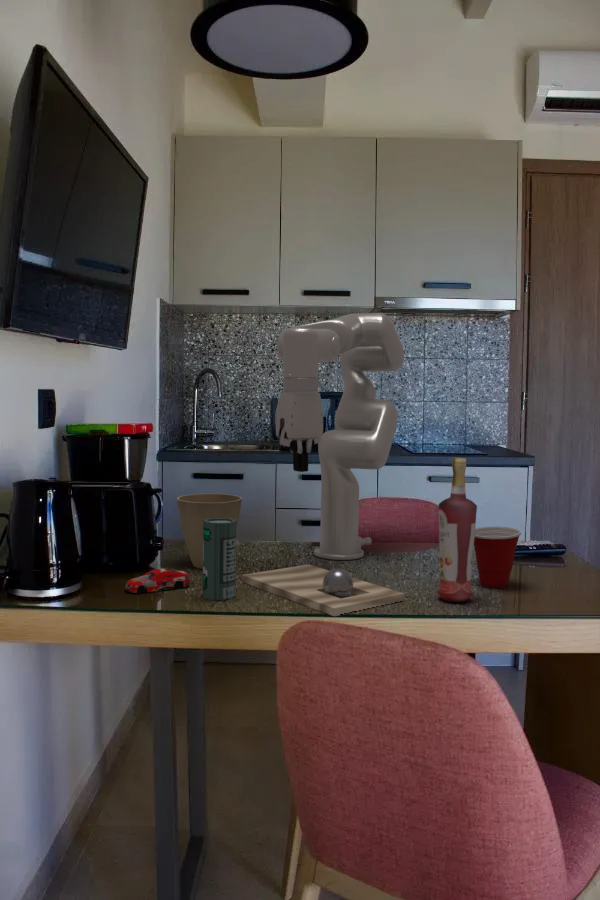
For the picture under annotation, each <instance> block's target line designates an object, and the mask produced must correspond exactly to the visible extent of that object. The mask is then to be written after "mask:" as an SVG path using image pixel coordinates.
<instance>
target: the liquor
mask: <svg viewBox="0 0 600 900" xmlns="http://www.w3.org/2000/svg"><path fill="white" fill-rule="evenodd" d="M451 459H452V461H451V467H452V468H451V469H452V480H451V487H450V488H451V489H450V495H449V497H448V498H445V499H442V501H441V502H439V503H438V541H439V542H438V543H439V588H438V590H437V591H436V593H437V594H438V596H440V598H441V599H442V600H444V601H445V602H447V601H448V602H449V603H452V602H456V603H455V604H460V603H459V602H462V603H465V602H467V601H469V599H470V598H471V597H473V592H472V589H471V588H472V572H473V571H472V570H473V569H472V568H473V557H474V555H473V554H474V548H475V547H474V537H475V528H476V523H477V509H478V505H477V504H476V503H475V502H474V501H473V500H471V499H468V498H467V494H466V493H467V491H466V470H467V469H466V468H467V458H465V457H452V458H451ZM457 602H458V603H457Z"/></svg>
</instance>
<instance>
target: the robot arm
mask: <svg viewBox="0 0 600 900" xmlns="http://www.w3.org/2000/svg"><path fill="white" fill-rule="evenodd" d="M404 352H405V351H404V346H403V343H402V341H401V339H400V336H399V333H398V331H397V329H396V327H395V325H394V323H393V321H392V320H391V318H390V317H389V316H388V315H386V314H385V313H383V312H364V313H348V314H345V315H341V316H339V317H336V318H333V319H327V320H322V321H317V322H313V323H307V324H302V325H297V326H292V327H289V328H286V329H284V330H283V331H281V333H280V334H279V336H278V338H277V341H276V353H277V354H278V357H279V358H280V360H281V361H282V366H283V367H282V376H283V377H282V381H283V382H282V384H283V385H282V391H283V392H281V393H279V395H278V396H279V397H278V400H277V402H278V403H277V407H276V418H275V419H276V420H275V435H276V437H277V438H278V439H279V445H280V446H284V447H288V449H290V452H291V453H292V467H293V469H292V470H293V471H295V472H297V473H298V472H299V473H304V472H308V471H309V454H310V453H311V452H312V448H313V447H314V446H315V445H316V444H317V447H318V449H317V451H318V452H317V453H318V456H319V457H318V459H319V465H320V475H321V477H320V478H321V481H320V482H321V489H320V528H319V531H320V533H319V536H320V537H319V547H318V546H317V547H316V548H314V550H313V555H314V556H316V557H318V558H320V559H326V560H332V561H333V560H337V561H347V560H348V561H349V560H351V561H352V560H357V559H361V558H363V557H364V555H365V551H364V550H363V549H362V547H363V546H368V545H369V546H371V545H372V542H373V541H372V538H371V537H369V536H368V537H367V536H366V537H362V536H359V515H360V514H359V512H360V511H359V510H360V508H359V507H360V485H359V482H358V479H357V478H356V476H355V474H354V473H353V471H352V469H355V470H356V469H357V470H380V469H381V468H383V467H384V466H385V465H386V463H387V460H388V457H389V455H390V451H391V448H392V443H393V440H394V438H395V433H396V429H397V424H398V411H397V407H396V406H395V404H394V403H393V402H392V401H391V400H389V399H384V398H382V399H381V398H376V396H377V389H376V387H375V386H374V384H373V382H372V381H371V379H369V377H368V376H366V375H365V373H364V372H383V373H384V372H388V373H389V372H395V371H398V370H399V369H400V368H401V367H402V366H403V363H404V360H405V353H404ZM338 357H339V364H340V369H341V374H342V379H343V382H344V389H343V392H342V395H341V398H340V401H339V404H338V407H337V409H336V413H335V416H334V426H335V428H336V429H331V430H327V431H326V432H324V415H323V414H324V411H323V405H322V403H323V402H322V398H321V393H320V392H319V388H320V387H321V384H322V383H321V381H320V380H319V364H326V363H332V362H333V361H335V360H336V359H337V358H338Z"/></svg>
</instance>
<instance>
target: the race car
mask: <svg viewBox="0 0 600 900" xmlns="http://www.w3.org/2000/svg"><path fill="white" fill-rule="evenodd" d="M190 585H191V578H190V575H189V573H188V572H186V571H184V570H177V569H174V568H156V569H153V570H150V571H148V572H146V573H144V575H141V576H140V575H139V576H137V577H133V578H130V579H129V580H128V581H126V582H125V586H124V587H125V591H126V592H129V593H133V594H138V595H143V594H144V595H145V594H146V593H154V592H160V591H161V592H163V591H169V590H175V591H176V590H182V589H183V588H186V587H188V586H190Z"/></svg>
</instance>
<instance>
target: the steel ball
mask: <svg viewBox="0 0 600 900" xmlns="http://www.w3.org/2000/svg"><path fill="white" fill-rule="evenodd" d="M328 571H329V572H328V573H327V574H326V575H325V577H324V579H323V589H324V591H325V593H326V594H329V595H332V596H335V597H338V598H346V597H350V596H349V595H351V594H350V593H351V592H352V589H353V579H352V578H353V577H352V575H351V574H350V573H349V571H347V570H345V569H343V568H338V567H337V568H333V569H330V570H328Z"/></svg>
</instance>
